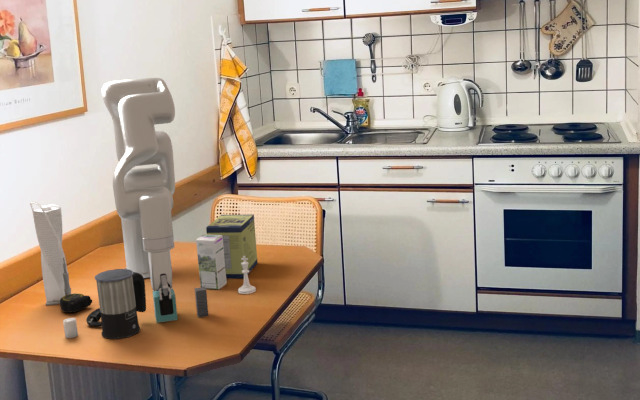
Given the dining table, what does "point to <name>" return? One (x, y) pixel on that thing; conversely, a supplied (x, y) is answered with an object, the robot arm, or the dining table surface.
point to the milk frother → (118, 303)
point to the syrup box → (211, 261)
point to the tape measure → (74, 302)
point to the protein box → (236, 242)
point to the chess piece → (246, 279)
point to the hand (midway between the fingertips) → (165, 308)
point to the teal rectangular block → (157, 308)
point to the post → (201, 302)
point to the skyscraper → (51, 252)
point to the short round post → (70, 328)
